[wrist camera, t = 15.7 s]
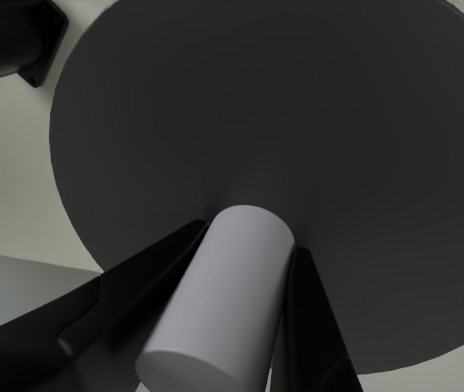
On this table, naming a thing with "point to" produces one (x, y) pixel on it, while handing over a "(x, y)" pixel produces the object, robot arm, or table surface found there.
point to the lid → (273, 172)
